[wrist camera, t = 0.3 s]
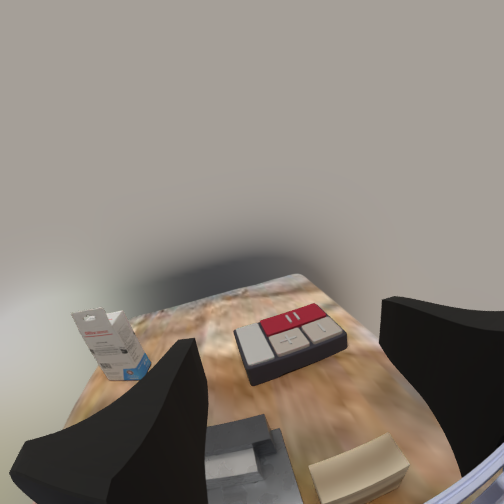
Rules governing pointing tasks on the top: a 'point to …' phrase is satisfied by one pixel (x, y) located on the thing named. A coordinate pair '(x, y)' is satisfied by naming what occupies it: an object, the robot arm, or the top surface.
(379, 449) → the birch block
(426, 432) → the top surface
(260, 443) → the vise base
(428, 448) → the top surface
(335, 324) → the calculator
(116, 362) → the ink box
